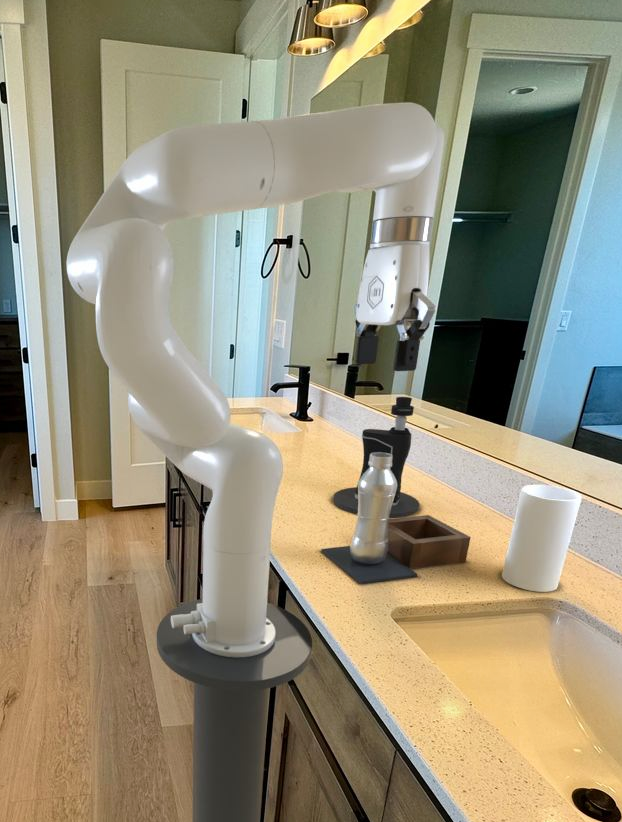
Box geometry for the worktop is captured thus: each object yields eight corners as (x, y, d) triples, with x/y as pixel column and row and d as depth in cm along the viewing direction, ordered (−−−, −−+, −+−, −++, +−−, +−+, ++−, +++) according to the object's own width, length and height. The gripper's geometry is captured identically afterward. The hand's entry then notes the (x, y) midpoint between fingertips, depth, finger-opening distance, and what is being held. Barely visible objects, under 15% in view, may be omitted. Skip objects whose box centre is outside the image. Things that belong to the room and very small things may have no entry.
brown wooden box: (409, 569, 103) (413, 543, 101) (372, 543, 114) (375, 520, 112) (465, 561, 105) (470, 537, 104) (424, 537, 116) (428, 514, 114)
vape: (410, 523, 123) (429, 407, 114) (323, 508, 133) (333, 400, 124) (424, 498, 139) (442, 394, 129) (345, 486, 148) (356, 388, 139)
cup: (547, 597, 93) (571, 504, 87) (493, 579, 99) (513, 491, 93) (564, 581, 98) (589, 492, 92) (513, 565, 104) (532, 481, 98)
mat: (360, 584, 98) (361, 581, 98) (321, 551, 111) (321, 548, 110) (417, 576, 100) (417, 573, 100) (372, 545, 113) (372, 543, 113)
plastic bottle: (340, 558, 106) (352, 453, 99) (367, 550, 109) (380, 448, 102) (366, 571, 101) (381, 461, 94) (394, 563, 104) (410, 456, 96)
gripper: (342, 241, 84) (330, 362, 90) (416, 228, 68) (396, 375, 75) (387, 242, 86) (373, 360, 92) (470, 229, 70) (446, 372, 76)
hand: (383, 366), depth 83 cm, fingers open, 9 cm apart
